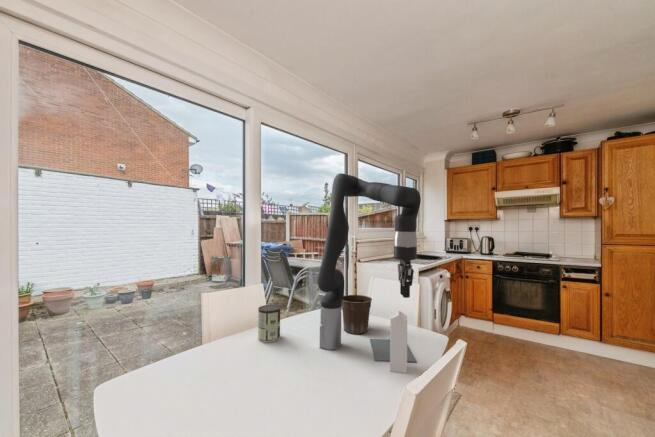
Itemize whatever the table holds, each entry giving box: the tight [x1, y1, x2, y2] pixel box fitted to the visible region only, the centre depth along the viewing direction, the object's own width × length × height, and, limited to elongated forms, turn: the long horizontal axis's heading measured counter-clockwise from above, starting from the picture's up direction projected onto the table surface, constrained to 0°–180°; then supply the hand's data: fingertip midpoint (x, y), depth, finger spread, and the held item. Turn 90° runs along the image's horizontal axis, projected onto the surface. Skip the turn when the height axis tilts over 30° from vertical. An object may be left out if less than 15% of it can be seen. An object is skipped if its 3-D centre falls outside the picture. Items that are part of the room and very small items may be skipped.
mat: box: [369, 338, 418, 364], centre depth 120 cm, size 16×21×1 cm
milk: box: [389, 310, 408, 374], centre depth 105 cm, size 6×6×22 cm
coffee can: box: [257, 304, 281, 343], centre depth 132 cm, size 10×10×14 cm
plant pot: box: [341, 294, 373, 335], centre depth 144 cm, size 16×16×16 cm
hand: (404, 295), depth 96 cm, fingers open, 3 cm apart
